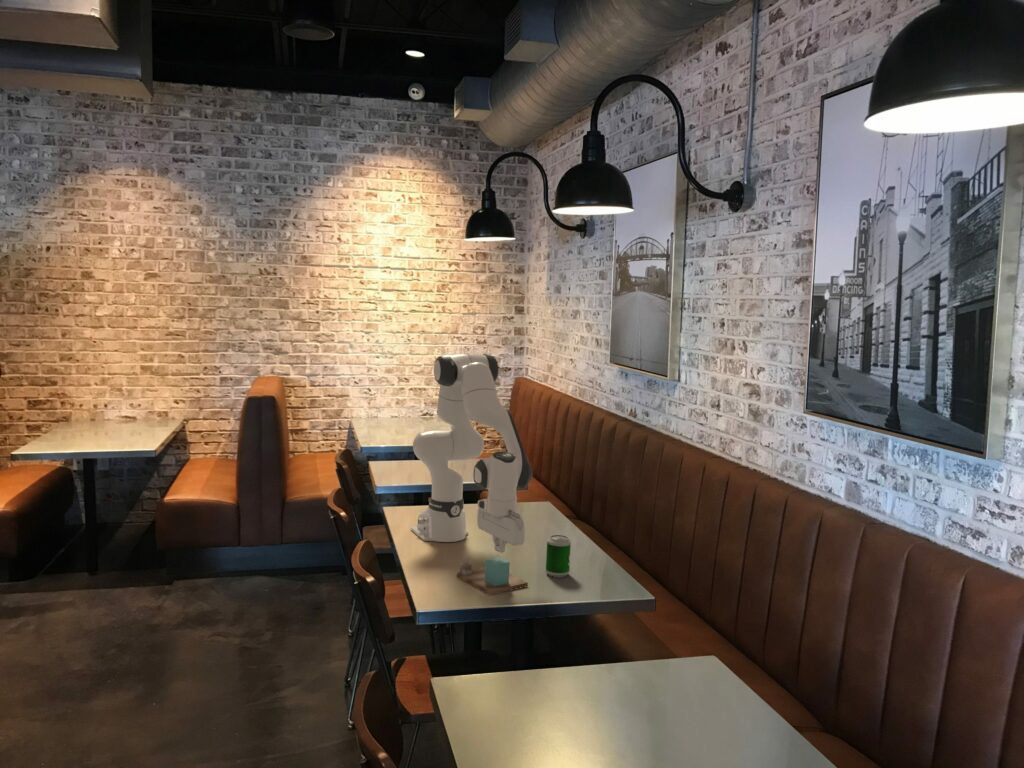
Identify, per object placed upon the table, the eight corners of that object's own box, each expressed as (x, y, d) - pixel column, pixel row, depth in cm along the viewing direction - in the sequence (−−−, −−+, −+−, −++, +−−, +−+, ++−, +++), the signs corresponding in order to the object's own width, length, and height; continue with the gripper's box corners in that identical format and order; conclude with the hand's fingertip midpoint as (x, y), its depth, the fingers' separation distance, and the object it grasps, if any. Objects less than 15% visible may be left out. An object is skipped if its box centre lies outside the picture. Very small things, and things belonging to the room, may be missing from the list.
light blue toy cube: (484, 581, 244) (485, 559, 243) (498, 578, 247) (499, 557, 246) (494, 586, 240) (495, 564, 239) (508, 583, 243) (509, 562, 242)
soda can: (567, 579, 252) (569, 542, 251) (543, 576, 253) (545, 539, 252) (570, 571, 259) (572, 535, 258) (547, 569, 261) (549, 533, 259)
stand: (456, 576, 250) (457, 553, 249) (493, 569, 259) (494, 547, 258) (489, 594, 236) (490, 571, 235) (527, 586, 244) (528, 563, 243)
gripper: (531, 514, 236) (528, 559, 238) (491, 497, 252) (489, 540, 254) (513, 517, 232) (511, 563, 234) (474, 499, 248) (472, 543, 250)
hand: (499, 551), depth 244 cm, fingers closed
